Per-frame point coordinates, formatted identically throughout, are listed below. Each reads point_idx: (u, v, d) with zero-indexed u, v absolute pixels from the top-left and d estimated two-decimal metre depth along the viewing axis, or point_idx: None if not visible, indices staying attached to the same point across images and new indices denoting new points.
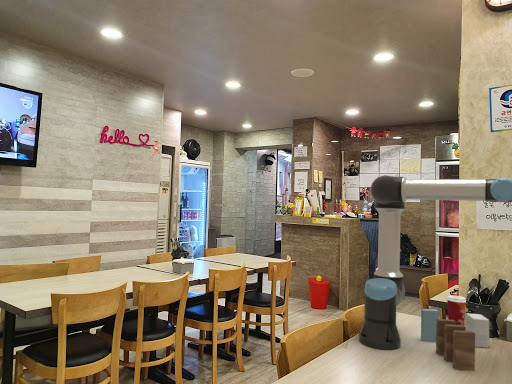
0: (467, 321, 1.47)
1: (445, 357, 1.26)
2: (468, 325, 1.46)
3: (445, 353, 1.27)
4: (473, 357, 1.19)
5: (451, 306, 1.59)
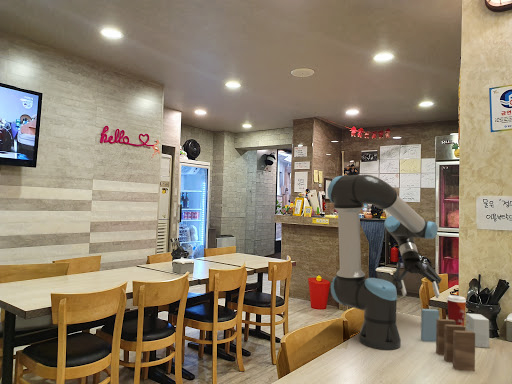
0: (467, 321, 1.47)
1: (445, 357, 1.26)
2: (468, 325, 1.46)
3: (445, 353, 1.27)
4: (473, 357, 1.19)
5: (451, 306, 1.59)
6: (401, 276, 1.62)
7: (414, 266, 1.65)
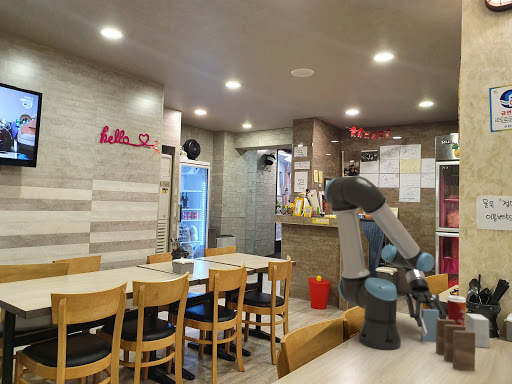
0: (467, 321, 1.47)
1: (445, 357, 1.26)
2: (468, 325, 1.46)
3: (445, 353, 1.27)
4: (473, 357, 1.19)
5: (451, 306, 1.59)
6: (418, 311, 1.47)
7: (423, 296, 1.53)
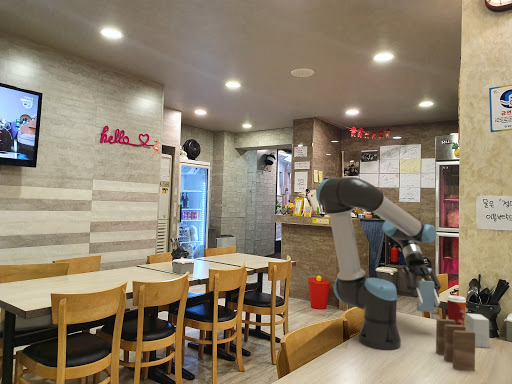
0: (467, 321, 1.47)
1: (445, 357, 1.26)
2: (468, 325, 1.46)
3: (445, 353, 1.27)
4: (473, 357, 1.19)
5: (451, 306, 1.59)
6: (414, 283, 1.53)
7: (419, 269, 1.58)
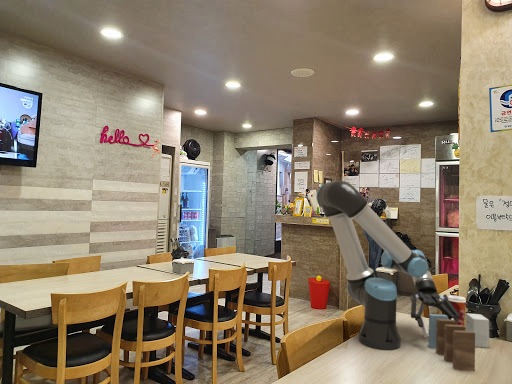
0: (467, 321, 1.47)
1: (445, 357, 1.26)
2: (468, 325, 1.46)
3: (445, 353, 1.27)
4: (473, 357, 1.19)
5: None
6: (420, 312, 1.41)
7: (430, 298, 1.46)
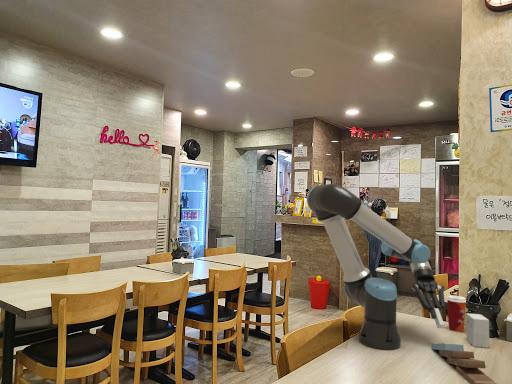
0: (467, 321, 1.47)
1: (448, 360, 1.24)
2: (468, 325, 1.46)
3: (450, 359, 1.23)
4: None
5: (451, 306, 1.59)
6: (430, 302, 1.42)
7: (428, 286, 1.48)
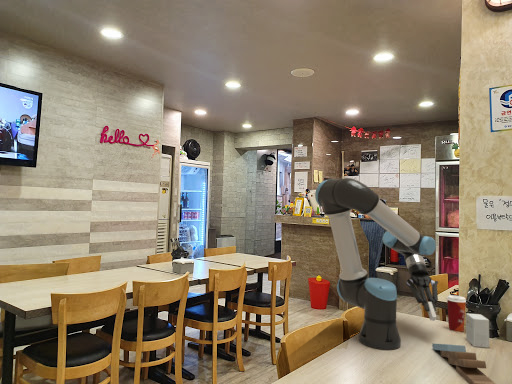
0: (467, 321, 1.47)
1: (449, 361, 1.23)
2: (468, 325, 1.46)
3: (451, 360, 1.22)
4: None
5: (451, 306, 1.59)
6: (424, 296, 1.49)
7: (422, 280, 1.54)
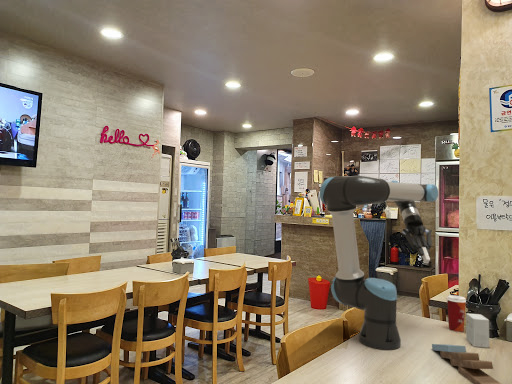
0: (467, 321, 1.47)
1: (452, 362, 1.22)
2: (468, 325, 1.46)
3: (454, 361, 1.21)
4: None
5: (451, 306, 1.59)
6: (419, 242, 1.59)
7: (417, 229, 1.64)
